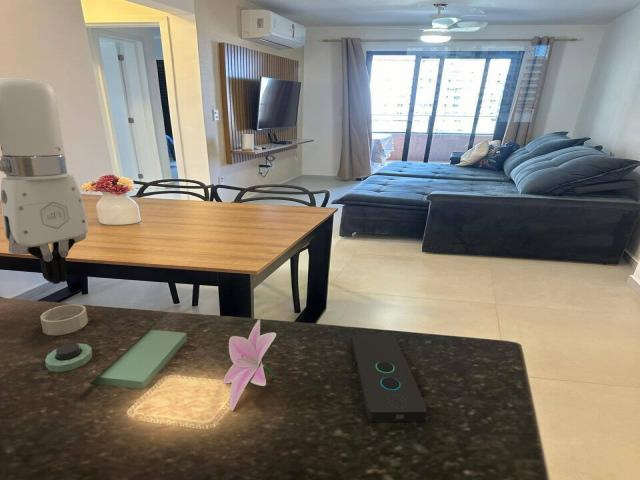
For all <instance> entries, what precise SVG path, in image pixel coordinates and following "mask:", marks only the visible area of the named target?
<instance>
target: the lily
mask: <svg viewBox="0 0 640 480" xmlns="http://www.w3.org/2000/svg"><path fill="white" fill-rule="evenodd" d="M276 337H277V333H276V332H274V331H273V332H267V333H263V334H261V319H260V318H259V319H258V320H257V321H256V322H255V324H254V325H253V327H252V330H251V331H250V333H249V336H248V338H247V337H243V336H237V335H232V336H231V337H229V339H228V351H229V353H228V354H229V356H230V361H231V362H232V363H233V364H232V365H231V366H230V367H229V369H228V370H227V372H226V374H225V376H224V378H223V380H222V382H223V384H230V383H231V385H230V391H229V409H230V412H233V411H234V409H235V408H236V406H237V404H238V402H239V400H240V397H241V395H242V393H243V391H244V390H245V388H246V386H247V385H248V383H249V382H250V383H251V384H253V385H256V386H262V387H265V386H266V385H267V379H266V376H265V370H266V371H267V372H268V374H270V376H271V377H272V378H273V379H274V380H276V379H277V377H276V376H275V374H274V373H273V372H272V371H271V370H270V369H269V368H268V367H267V366H266V365H264V364H263V361H262V359H263V357H264V355H265V354H266V352H267V350H268V349H269V348H270V346H271V345H272V343H273V341H274V340H275V338H276Z"/></svg>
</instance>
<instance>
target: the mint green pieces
mask: <svg viewBox="0 0 640 480" xmlns="http://www.w3.org/2000/svg"><path fill="white" fill-rule="evenodd" d="M187 340H188V333H187V332H179V331H169V330H160V329H159V330H158V329H148V330H147V331H146V332H145V333H144V334H143V335H141V336H140V337H139V338H138V339H137V340H136V341H135V342H134V343H133V344H131V346H129V347H128V348H127V349H126V350H125V351H124V352H123V353H121V355H119V356H118V357H117V359H115V360H114V361H113V362H112V363H111V364H110V365H109V366H107V368H105V369H104V370H103V371H102V372H101V373H100V374H99V375H98V376H97V377H96V378H94V380H92V381H91V382H90V383H89V384H90V385H91V384H92V385H99V386H100V385H101V386H109V387H118V388H127V389H137V390H145V389H146V388H147V387H148V386H149V384H150V383H151V382H152V381H153V380H154V379H155V378H156V376H157V375H158V374H159V373H160V372H161V371H162V369H163V368H164V367H165V366H166V365H167V363H168V362H169V361H170V360H171V359H172V358H173V356H174V355H176V353H177V352H178V351H179V349H180V348H181V347H183V345H184V344H185V343H186V342H187ZM76 344H78V345H79V347H80V355H79V356H78V357H75V358H73V359H70V360H65V361H59V360H58V359H57V354H56V350H57V349H58V348H55V349H54V350H52V351H51V352H50V353H48V354H47V355H46V357H45V359H44V364H45V368H46V369H47V370H48V371H50V372H55V373H63V372H67V371H68V372H69V371H73V370H75V369H78V368H80V367H82V366H84V365H86V364H87V363H88V362H89V361H90V360H91V359H92V357H93V349H92V347H91V346H90V345H89V344H86V343H79V342H78V343H76Z"/></svg>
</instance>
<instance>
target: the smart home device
mask: <svg viewBox="0 0 640 480" xmlns="http://www.w3.org/2000/svg"><path fill="white" fill-rule="evenodd" d="M350 341H351V342H350V345H351V349H352V354H353V360H354V363H355V364H354V365H355V368H356V373H357V378H358V382H359V387H360V391H361V394H362V400H363V403H364V404H363V405H364V408H365V414H366V417H367V419H368V420H369V422H371V423H373V422H374V423H387V422H388V423H390V422H392V423H394V422H395V423H397V422H401V423H402V422H405V423H406V422H408V423H409V422H410V423H411V422H425V421H426V417H427V412H428V411H427V410H428V408H427V405H426V403H425V400H424V398H423V397H422V393H421V391H420V389H419V387H418V385H417V382H416V380H415V378H414V376H413V373H412V371H411V369H410V367H409V364H408V362H407V360H406V357H405V356H404V353H403V351H402V349H401V346H400V344H399V342H398V340H397V337H396V336H395V335H394V334H392V333H352V334H351V340H350Z"/></svg>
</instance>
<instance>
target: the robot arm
mask: <svg viewBox="0 0 640 480" xmlns="http://www.w3.org/2000/svg"><path fill="white" fill-rule="evenodd" d="M58 109H59V108H58V102H57V96H56V91H55V90H54V88H53V86H52V85H51V84H50V83H48V82H46V81H44V80H40V79H35V78H25V77H10V76H9V77H8V76H7V77H6V76H5V77H4V76H3V77H0V151H1V155H0V172H3V174H4V175H5V177H2V178H1V183H0V208H1V209H0V210H1V218H2V226H3V232H4V235H5V238H6V240H7V241H8V252H9V253H10V254H13V255H18V256H19V255H31V256H33V257H35V258H36V259H38V260H39V263H40V268H41V275H42V277H43V279H44V280H46V282H49V283H52V284H54V285H58V284H60V283H65V282H67V281H68V278H67V275H68V265H67V259H66V258H67V257H68V256H69V251H70V250H71V249H72V247H73V246H74V245H75V244H77V243H79V242H81V241H84V240H85V239H86V238H87V235H86V234H88V232H89V224H88V218H87V217H88V216H87V212H86V207H85V204H84V199H83V197H82V194H81V190H80V188H79V185H78V183H77V180H76V177H75V175H74V174H68V167H67V161H66V155H65V148H64V141H63V135H62V129H61V122H60V121H61V120H60V114H59V110H58Z"/></svg>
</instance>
